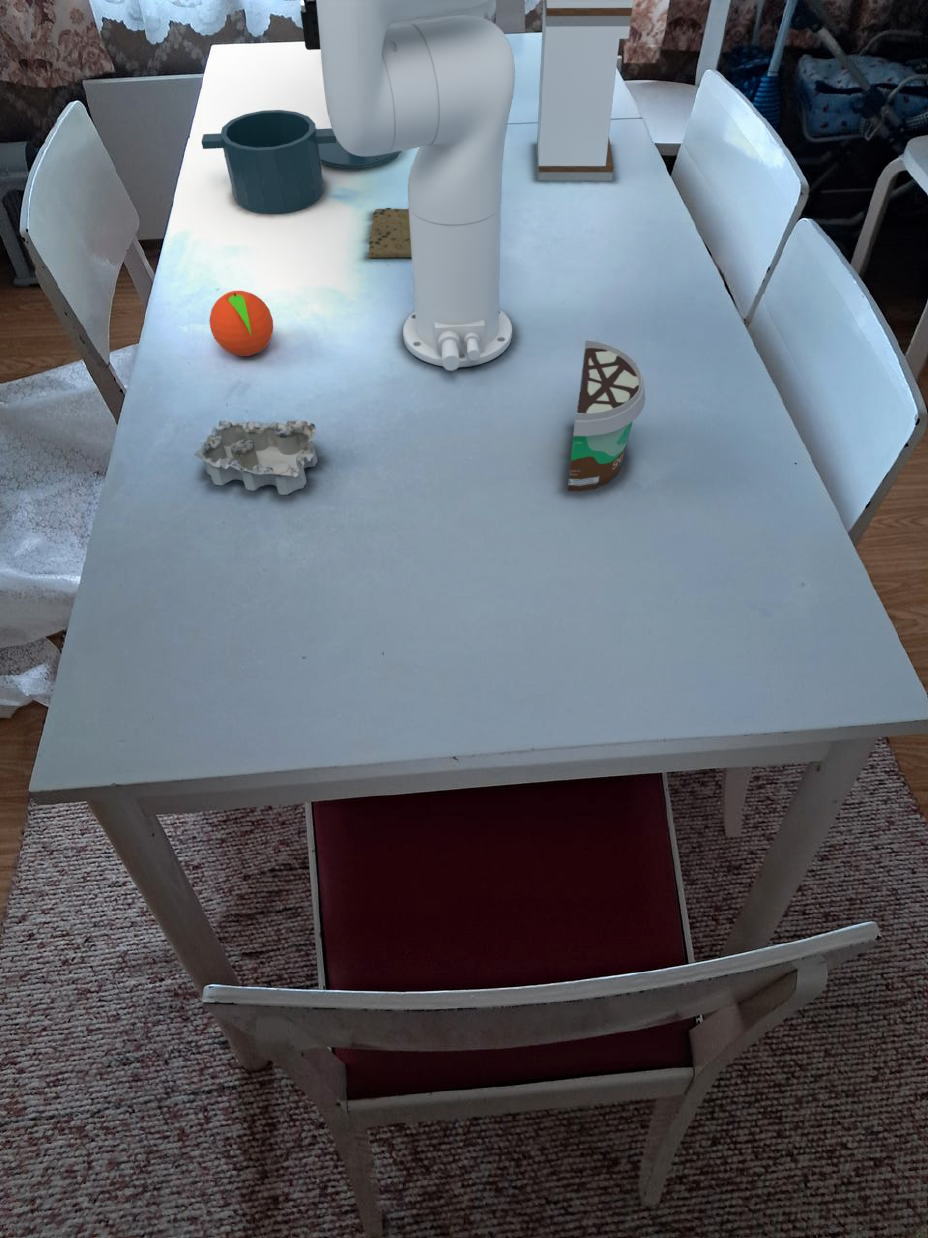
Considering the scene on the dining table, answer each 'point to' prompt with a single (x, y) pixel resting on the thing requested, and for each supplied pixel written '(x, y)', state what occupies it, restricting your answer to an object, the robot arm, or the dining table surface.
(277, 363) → the dining table surface
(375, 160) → the pot lid
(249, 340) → the clementine
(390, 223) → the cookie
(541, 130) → the striped white pillar
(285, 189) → the pot
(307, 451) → the egg carton
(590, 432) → the food container
